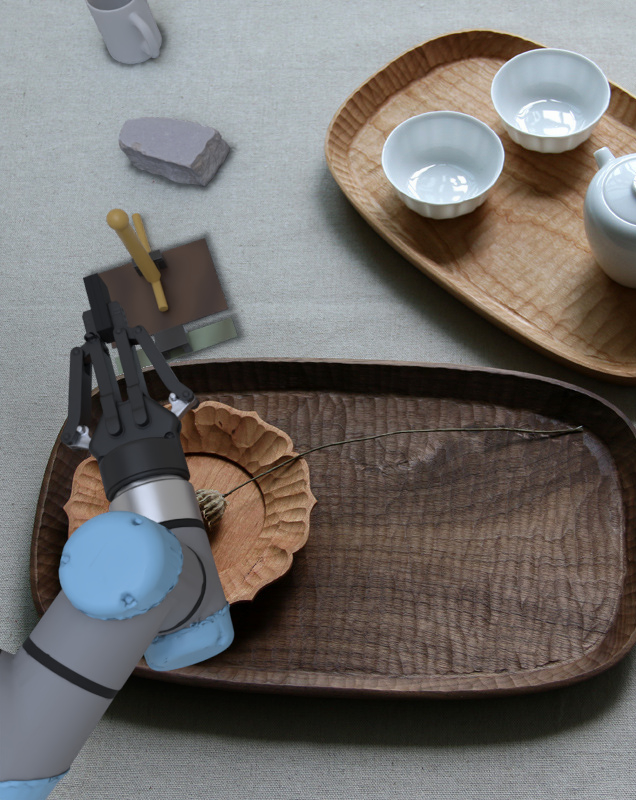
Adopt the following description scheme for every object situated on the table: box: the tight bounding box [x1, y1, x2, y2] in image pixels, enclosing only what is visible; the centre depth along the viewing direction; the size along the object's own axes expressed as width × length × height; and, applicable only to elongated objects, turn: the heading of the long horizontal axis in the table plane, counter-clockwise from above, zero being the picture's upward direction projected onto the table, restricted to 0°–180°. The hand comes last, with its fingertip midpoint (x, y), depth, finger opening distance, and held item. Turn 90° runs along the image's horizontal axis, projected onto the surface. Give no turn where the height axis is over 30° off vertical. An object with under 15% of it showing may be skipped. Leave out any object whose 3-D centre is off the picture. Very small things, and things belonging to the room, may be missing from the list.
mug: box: [84, 0, 163, 65], centre depth 123 cm, size 12×8×11 cm
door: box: [98, 237, 239, 375], centre depth 108 cm, size 16×16×4 cm
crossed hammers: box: [105, 208, 168, 311], centre depth 104 cm, size 3×16×16 cm, turn 21°
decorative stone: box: [118, 116, 230, 188], centre depth 116 cm, size 15×7×10 cm
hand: (95, 282), depth 82 cm, fingers closed
